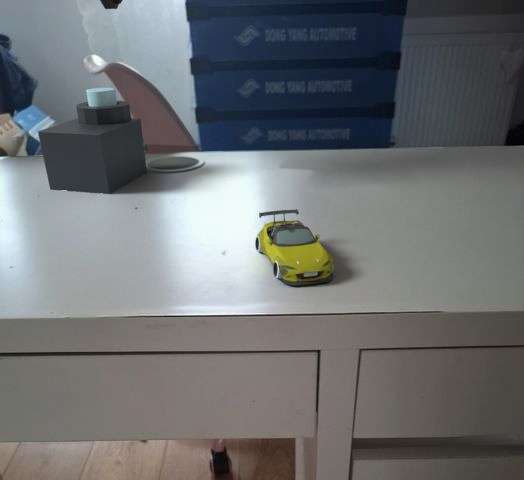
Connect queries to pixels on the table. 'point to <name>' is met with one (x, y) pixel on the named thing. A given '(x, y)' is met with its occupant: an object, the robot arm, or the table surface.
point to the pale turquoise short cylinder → (101, 97)
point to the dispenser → (94, 150)
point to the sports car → (294, 251)
